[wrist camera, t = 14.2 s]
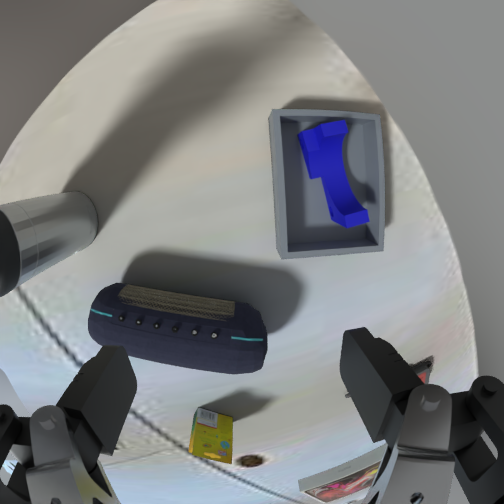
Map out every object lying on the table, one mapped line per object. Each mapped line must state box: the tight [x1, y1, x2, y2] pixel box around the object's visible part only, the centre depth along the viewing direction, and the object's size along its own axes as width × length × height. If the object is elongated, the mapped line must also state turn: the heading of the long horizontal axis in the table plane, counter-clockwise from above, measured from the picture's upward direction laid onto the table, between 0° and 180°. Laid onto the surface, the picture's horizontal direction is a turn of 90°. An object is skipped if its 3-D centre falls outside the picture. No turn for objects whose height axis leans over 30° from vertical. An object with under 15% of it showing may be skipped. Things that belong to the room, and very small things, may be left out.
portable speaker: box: [88, 283, 267, 374], centre depth 35 cm, size 25×10×10 cm, turn 81°
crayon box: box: [189, 407, 233, 464], centre depth 40 cm, size 7×3×12 cm, turn 65°
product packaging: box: [298, 443, 388, 504], centre depth 55 cm, size 22×28×5 cm
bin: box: [268, 109, 385, 259], centre depth 32 cm, size 14×18×5 cm
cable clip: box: [297, 120, 370, 228], centre depth 31 cm, size 12×4×6 cm, turn 16°
